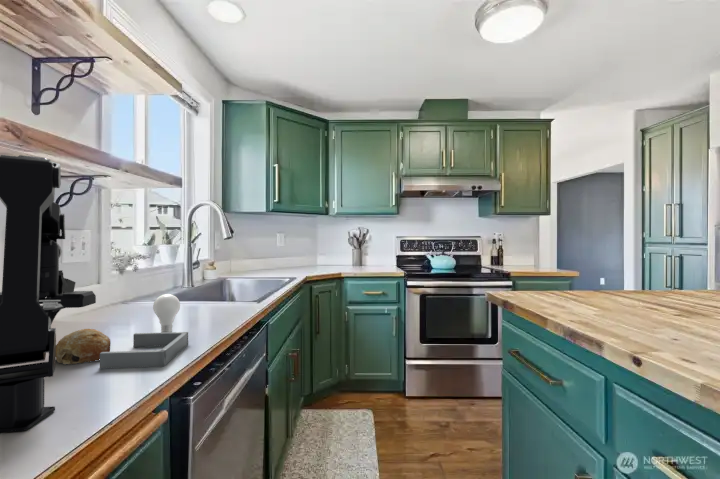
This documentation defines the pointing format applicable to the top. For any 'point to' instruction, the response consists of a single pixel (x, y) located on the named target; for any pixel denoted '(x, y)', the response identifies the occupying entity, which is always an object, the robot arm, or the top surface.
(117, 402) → the top surface
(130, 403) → the top surface
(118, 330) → the top surface
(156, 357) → the grey u-shaped frame
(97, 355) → the bread roll
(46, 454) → the top surface
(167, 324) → the lightbulb
